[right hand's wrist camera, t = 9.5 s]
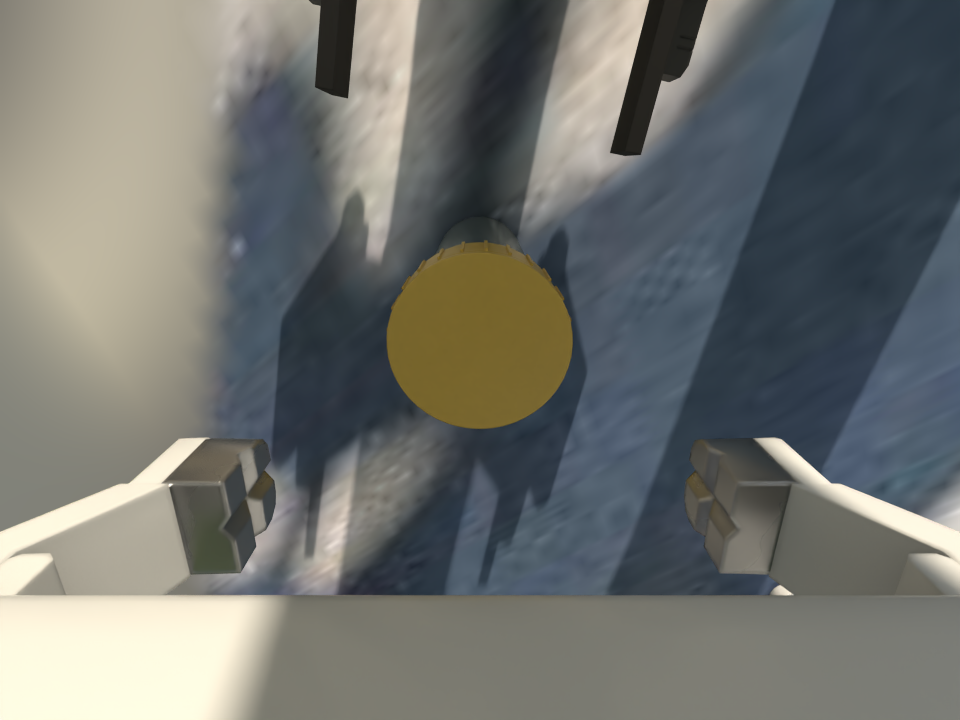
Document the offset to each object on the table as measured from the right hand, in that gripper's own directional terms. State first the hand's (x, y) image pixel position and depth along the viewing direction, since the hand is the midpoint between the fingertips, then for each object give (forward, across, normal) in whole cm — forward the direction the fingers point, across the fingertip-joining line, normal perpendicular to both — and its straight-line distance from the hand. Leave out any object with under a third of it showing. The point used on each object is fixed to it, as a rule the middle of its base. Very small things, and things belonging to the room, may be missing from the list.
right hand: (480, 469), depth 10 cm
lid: (+8, 0, 0) cm, 8 cm away
